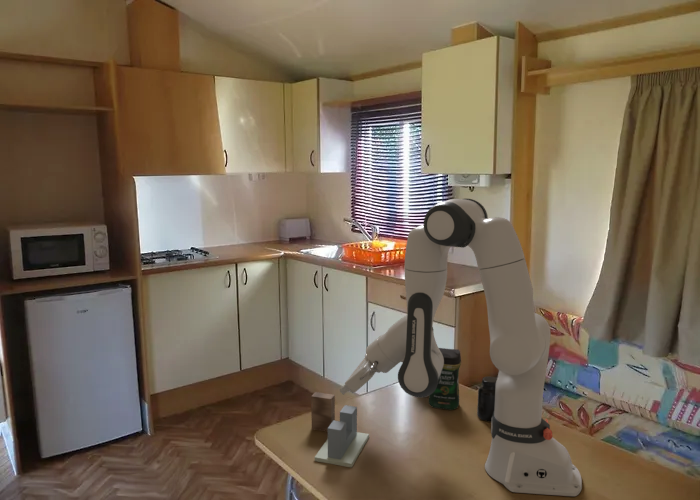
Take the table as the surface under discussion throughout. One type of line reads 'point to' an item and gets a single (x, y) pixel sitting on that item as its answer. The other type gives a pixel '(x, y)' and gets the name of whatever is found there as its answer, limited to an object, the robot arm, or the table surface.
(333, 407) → the walnut slat
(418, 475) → the table surface
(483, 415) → the supplement bottle
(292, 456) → the table surface
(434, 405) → the coffee jar
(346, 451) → the notched receiver
